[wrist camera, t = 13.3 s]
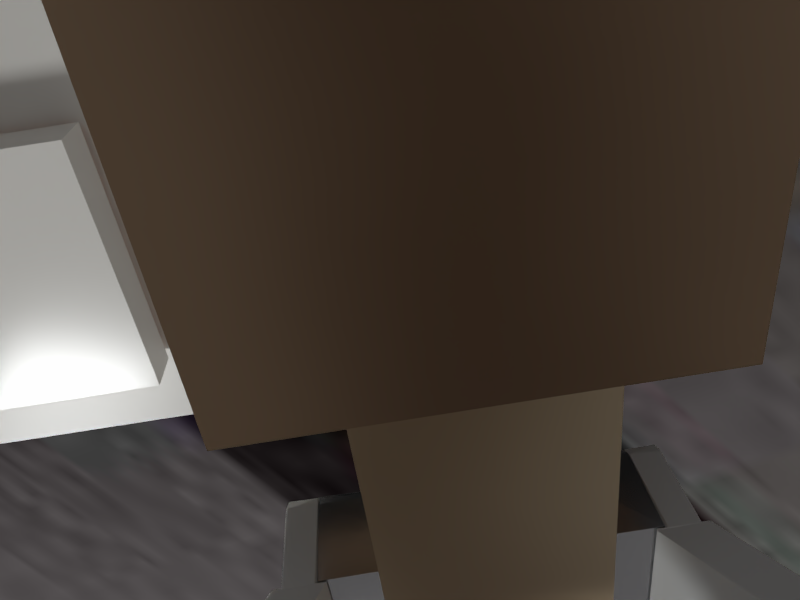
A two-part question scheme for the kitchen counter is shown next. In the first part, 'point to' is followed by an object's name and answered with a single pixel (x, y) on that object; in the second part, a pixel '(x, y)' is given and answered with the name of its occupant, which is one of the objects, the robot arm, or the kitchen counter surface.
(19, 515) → the kitchen counter surface
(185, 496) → the kitchen counter surface
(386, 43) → the wooden mallet
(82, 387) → the tile
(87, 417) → the mat
